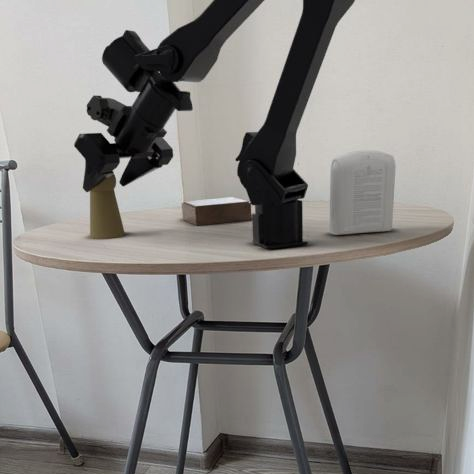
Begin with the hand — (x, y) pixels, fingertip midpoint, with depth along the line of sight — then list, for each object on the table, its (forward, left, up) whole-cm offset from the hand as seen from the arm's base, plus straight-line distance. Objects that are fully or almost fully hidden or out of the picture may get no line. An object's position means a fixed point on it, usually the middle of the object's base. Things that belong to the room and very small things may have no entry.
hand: (104, 187), depth 99 cm
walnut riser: (-22, -6, -8) cm, 24 cm away
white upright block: (-37, +23, -8) cm, 44 cm away
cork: (0, 0, -8) cm, 8 cm away
